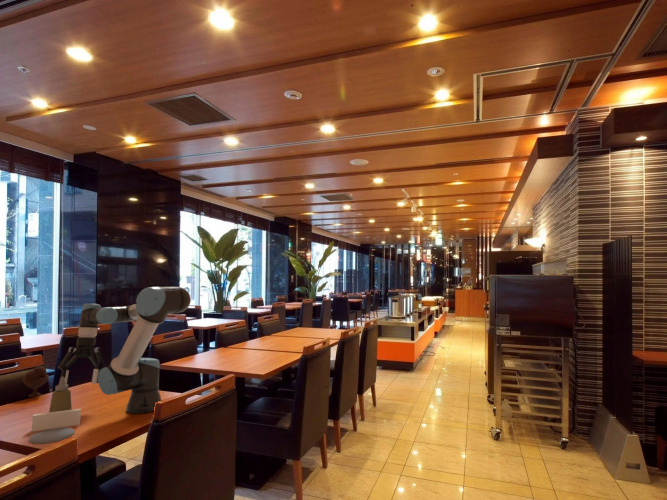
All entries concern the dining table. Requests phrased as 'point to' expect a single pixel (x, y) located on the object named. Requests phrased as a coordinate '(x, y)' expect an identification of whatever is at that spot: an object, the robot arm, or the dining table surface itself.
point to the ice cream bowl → (35, 379)
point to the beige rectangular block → (56, 419)
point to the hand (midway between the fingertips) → (79, 384)
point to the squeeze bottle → (61, 397)
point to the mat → (51, 435)
